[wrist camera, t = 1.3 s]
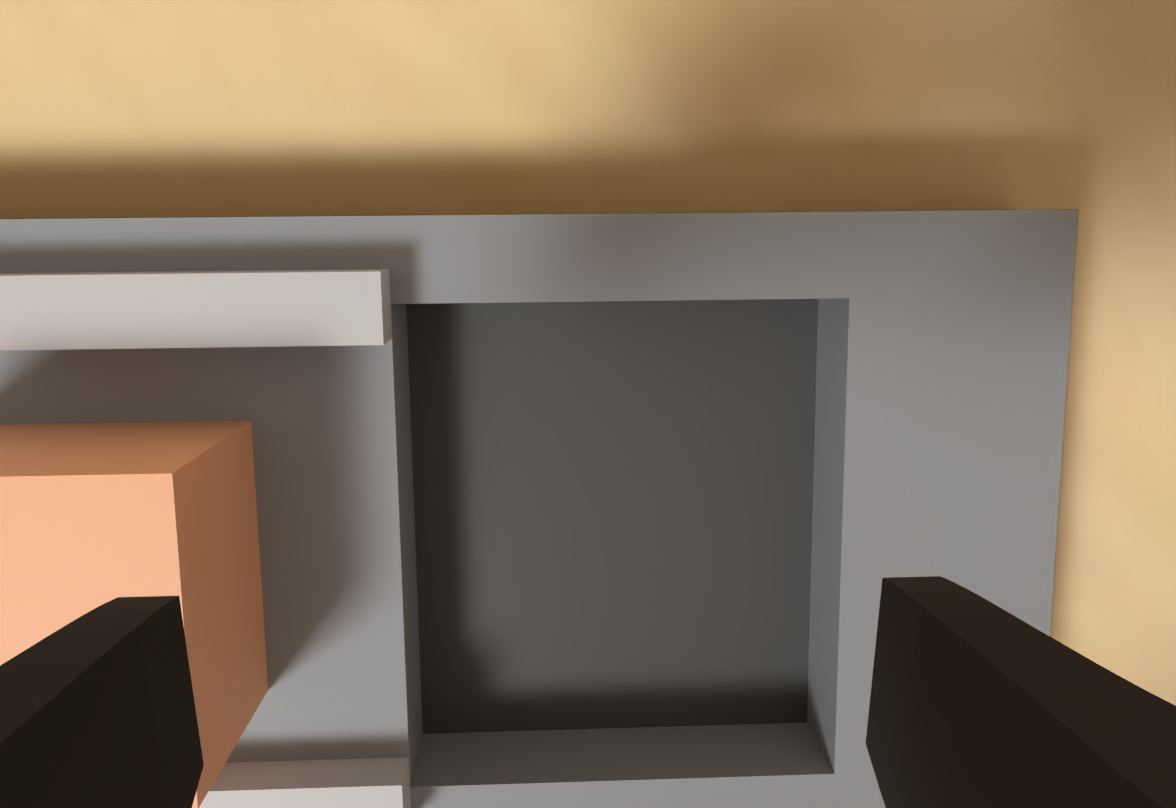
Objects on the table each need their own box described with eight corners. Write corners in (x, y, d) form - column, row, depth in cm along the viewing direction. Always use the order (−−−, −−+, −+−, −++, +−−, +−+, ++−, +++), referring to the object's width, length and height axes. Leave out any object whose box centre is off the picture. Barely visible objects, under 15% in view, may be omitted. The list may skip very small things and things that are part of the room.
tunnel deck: (982, 773, 23) (1061, 870, 19) (-454, 818, 22) (-643, 930, 18) (1015, 211, 21) (1109, 208, 17) (-566, 225, 20) (-803, 225, 16)
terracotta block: (267, 690, 19) (198, 809, 15) (-13, 697, 19) (-157, 820, 15) (251, 420, 18) (172, 473, 14) (-42, 426, 18) (-203, 480, 14)
